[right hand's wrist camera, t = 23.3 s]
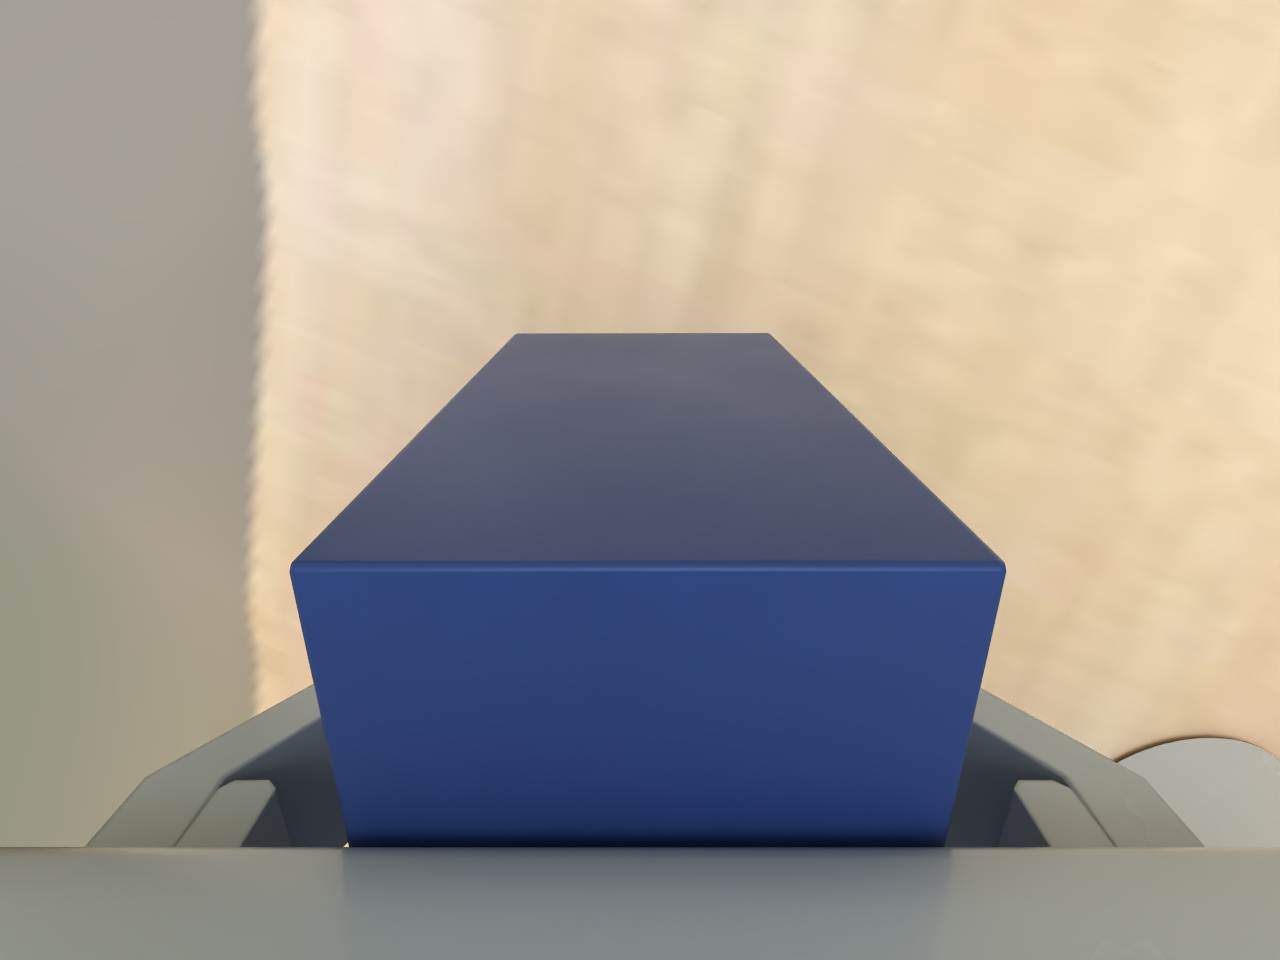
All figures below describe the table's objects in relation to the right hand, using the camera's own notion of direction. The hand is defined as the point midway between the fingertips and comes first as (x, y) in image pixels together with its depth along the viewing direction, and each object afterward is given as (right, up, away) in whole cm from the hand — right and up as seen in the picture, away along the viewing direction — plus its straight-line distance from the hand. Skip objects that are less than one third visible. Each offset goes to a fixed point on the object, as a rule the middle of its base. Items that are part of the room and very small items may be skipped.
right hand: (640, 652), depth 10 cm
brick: (0, +2, +4) cm, 5 cm away
